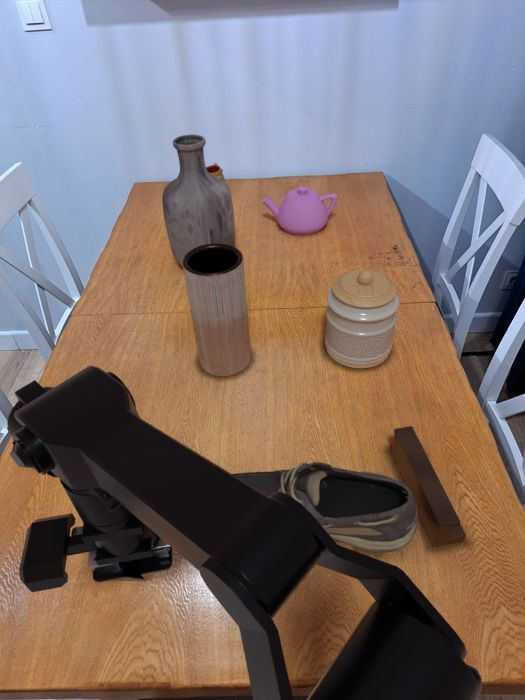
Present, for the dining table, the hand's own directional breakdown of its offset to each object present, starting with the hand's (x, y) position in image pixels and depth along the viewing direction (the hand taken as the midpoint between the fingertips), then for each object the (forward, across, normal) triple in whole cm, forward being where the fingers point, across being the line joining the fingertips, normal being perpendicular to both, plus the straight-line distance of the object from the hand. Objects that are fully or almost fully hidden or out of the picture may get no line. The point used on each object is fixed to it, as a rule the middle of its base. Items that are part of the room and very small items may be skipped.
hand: (147, 575), depth 52 cm
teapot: (+13, -38, -96) cm, 104 cm away
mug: (+13, -18, -128) cm, 130 cm away
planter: (+13, -12, -46) cm, 49 cm away
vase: (+13, -11, -82) cm, 84 cm away
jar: (+13, -38, -44) cm, 60 cm away
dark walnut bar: (+13, -38, -11) cm, 41 cm away
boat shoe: (+13, -20, -11) cm, 26 cm away
